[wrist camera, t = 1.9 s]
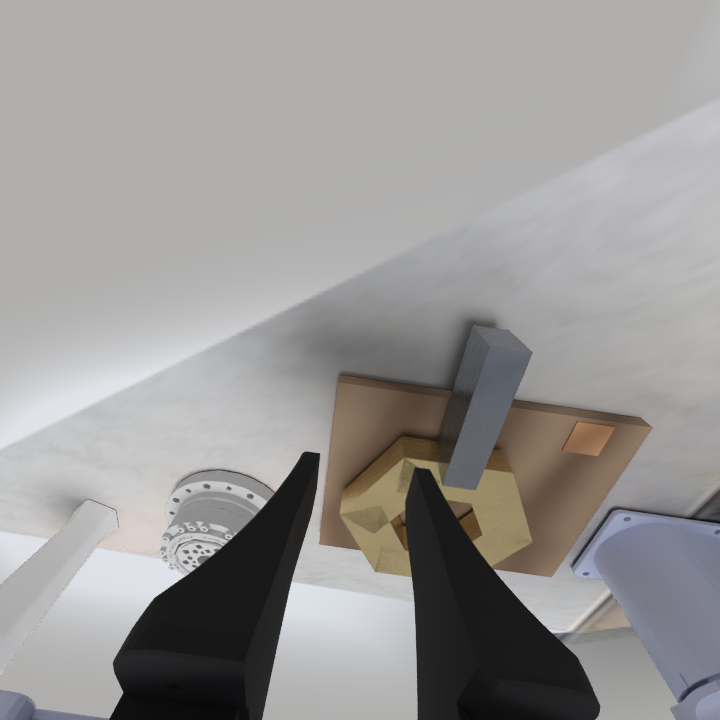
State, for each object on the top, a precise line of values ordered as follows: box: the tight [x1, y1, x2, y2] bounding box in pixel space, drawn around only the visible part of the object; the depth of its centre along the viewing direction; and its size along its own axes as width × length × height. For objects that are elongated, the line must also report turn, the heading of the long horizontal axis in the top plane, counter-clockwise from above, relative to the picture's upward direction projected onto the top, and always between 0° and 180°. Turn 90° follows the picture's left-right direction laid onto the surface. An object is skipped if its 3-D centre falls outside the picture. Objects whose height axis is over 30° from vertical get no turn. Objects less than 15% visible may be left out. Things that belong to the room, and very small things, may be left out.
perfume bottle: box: [0, 500, 118, 675], centre depth 21 cm, size 5×4×15 cm
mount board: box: [319, 375, 653, 577], centre depth 23 cm, size 20×16×1 cm
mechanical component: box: [159, 470, 274, 576], centre depth 25 cm, size 10×4×10 cm
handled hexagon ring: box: [340, 325, 533, 577], centre depth 20 cm, size 20×13×3 cm
